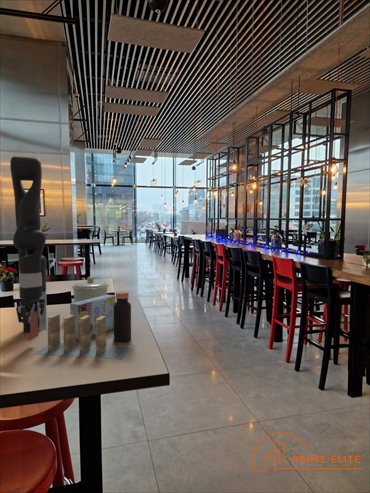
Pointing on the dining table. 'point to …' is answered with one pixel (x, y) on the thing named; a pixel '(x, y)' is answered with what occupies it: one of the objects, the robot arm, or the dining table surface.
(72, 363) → the dining table surface
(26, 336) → the domino
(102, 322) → the domino
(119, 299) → the bottle
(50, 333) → the domino
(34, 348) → the dining table surface
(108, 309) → the snack box
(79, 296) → the canister
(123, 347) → the board
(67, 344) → the domino
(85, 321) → the domino
